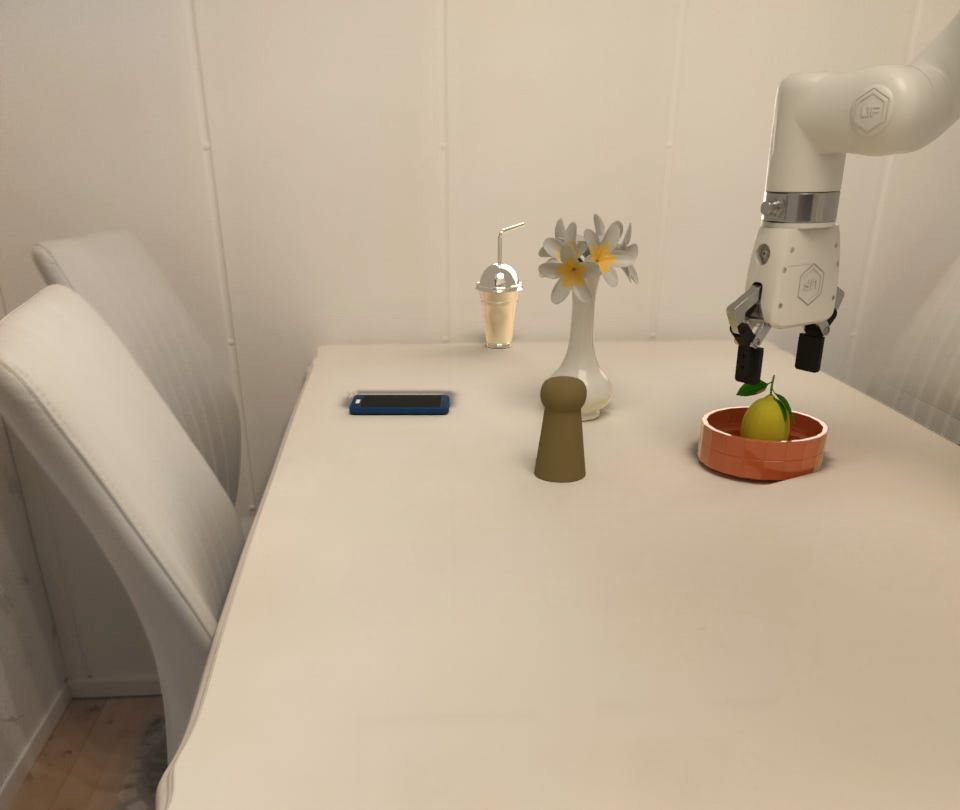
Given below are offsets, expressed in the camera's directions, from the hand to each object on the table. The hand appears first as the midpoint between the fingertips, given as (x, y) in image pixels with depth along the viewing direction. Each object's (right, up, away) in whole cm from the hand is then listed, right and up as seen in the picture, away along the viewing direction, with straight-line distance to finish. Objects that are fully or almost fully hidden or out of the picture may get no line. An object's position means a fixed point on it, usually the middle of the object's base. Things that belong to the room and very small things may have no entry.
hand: (777, 376), depth 104 cm
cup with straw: (-30, +23, +61) cm, 72 cm away
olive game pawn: (-24, -11, +3) cm, 27 cm away
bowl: (-1, -9, +6) cm, 11 cm away
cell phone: (-45, +3, +26) cm, 52 cm away
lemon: (-1, -9, +5) cm, 10 cm away
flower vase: (-20, +1, +23) cm, 30 cm away
